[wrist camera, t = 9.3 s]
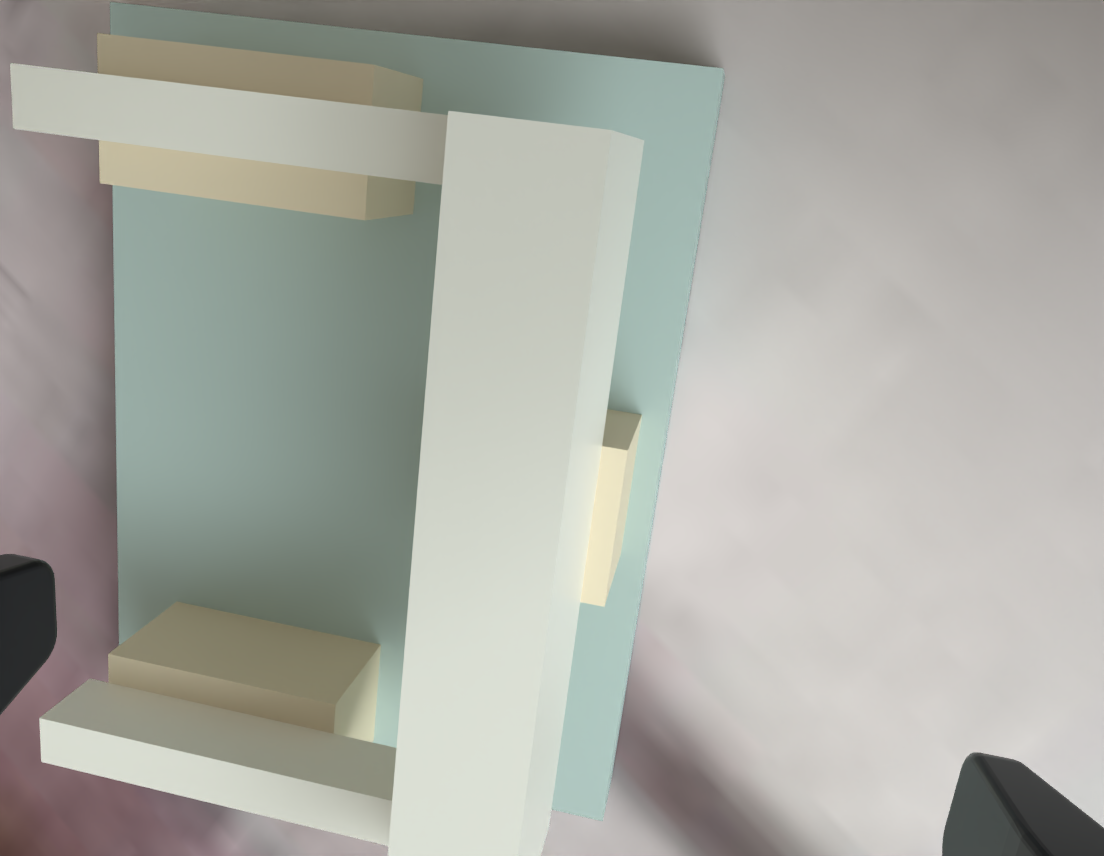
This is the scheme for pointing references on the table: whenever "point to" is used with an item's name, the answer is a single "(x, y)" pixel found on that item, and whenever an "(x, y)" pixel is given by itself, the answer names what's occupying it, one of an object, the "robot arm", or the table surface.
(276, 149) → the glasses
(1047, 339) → the table surface
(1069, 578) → the table surface
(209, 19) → the display stand
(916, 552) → the table surface
